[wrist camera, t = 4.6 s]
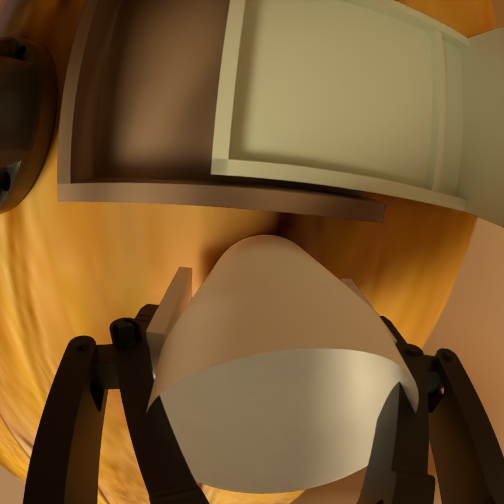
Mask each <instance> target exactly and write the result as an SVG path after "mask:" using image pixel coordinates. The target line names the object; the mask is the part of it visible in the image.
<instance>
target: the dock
mask: <svg viewBox="0 0 504 504" xmlns="http://www.w3.org/2000/svg"><path fill="white" fill-rule="evenodd" d="M229 5H230V0H86V2H85V4H84V7H83V10H82V13H81V17H80V20H79V23H78V26H77V30H76V34H75V37H74V41H73V45H72V49H71V54H70V58H69V63H68V68H67V73H66V78H65V84H64V91H63V98H62V106H61V114H60V125H59V138H58V164H57V183H58V201H87V202H132V203H158V204H179V205H197V206H212V207H227V208H240V209H253V210H265V211H276V212H287V213H297V214H307V215H316V216H325V217H334V218H343V219H351V220H359V221H367V222H375V223H383V217H384V211H385V206H386V205H384V204H381V203H379V202H377V201H374V200H372V199H369V198H367V197H364V194H365V191H361V190H355V189H348V188H341V187H334V186H327V185H320V184H312V183H304V182H296V181H287V180H277V179H267V178H256V177H244V176H230V175H214V174H211V164H212V151H213V139H214V127H215V116H216V106H217V96H218V87H219V78H220V70H221V62H222V54H223V46H224V39H225V31H226V25H227V18H228V11H229Z"/></svg>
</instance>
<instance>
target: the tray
mask: <svg viewBox="0 0 504 504" xmlns="http://www.w3.org/2000/svg"><path fill="white" fill-rule="evenodd" d="M211 174H214V175H230V176H244V177H256V178H267V179H277V180H287V181H296V182H304V183H312V184H320V185H327V186H334V187H341V188H348V189H355V190H361V191H367V192H373V193H379V194H384V195H390V196H395V197H400V198H405V199H410V200H415V201H420V202H425V203H429V204H434V205H438V206H443V207H447V208H451V209H455V210H459V211H463V212H466V213H469V214H472V215H474V216H477V217H479V218H482V219H484V220H487V221H489V222H492V223H494V224H497V225H499V226H501V227H504V27H500V28H497V29H494V30H491V31H488V32H485V33H482V34H479V35H476V36H473V37H470V38H467V37H465V36H464V35H462V34H461V33H459V32H457V31H456V30H454V29H452V28H450V27H449V26H447V25H445V24H443V23H441V22H440V21H438V20H436V19H434V18H432V17H430V16H428V15H426V14H424V13H422V12H420V11H418V10H415V9H413V8H411V7H409V6H406V5H404V4H402V3H399V2H397V1H394V0H230V5H229V11H228V18H227V25H226V31H225V39H224V46H223V54H222V62H221V70H220V78H219V87H218V96H217V106H216V116H215V127H214V139H213V151H212V164H211Z"/></svg>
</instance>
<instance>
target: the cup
mask: <svg viewBox="0 0 504 504" xmlns="http://www.w3.org/2000/svg"><path fill="white" fill-rule="evenodd" d="M399 381H400V383H401V385H402V387H403V389H404V391H405V393H406V395H407V397H408V399H409V401H410V404H411V406H412V408H413V410H414V412H415V414H416V411H417V407H418V399H419V395H418V388H417V385H416V382H415V380H414V379H413V377H412V375H411V373H410V371H409V369H408V367H407V366H406V364H405V362H404V360H403V358H402V357H401V355H400V353H399V351H398V349H397V347H396V346H395V344H394V342H393V340H392V338H391V336H390V334H389V332H388V330H387V328H386V327H385V325H384V323H383V322H382V320H381V319H380V317H379V316H378V315H377V314H376V313H375V311H374V310H373V309H372V308H371V307H370V306H369V305H368V304H367V303H366V302H365V301H364V300H362V299H361V298H360V297H359V296H358V295H357V294H355V293H354V292H353V291H352V290H351V289H350V288H349V287H347V286H346V285H345V284H344V283H343V282H341V281H340V280H339V279H338V278H337V277H336V276H334V275H333V274H332V273H331V272H330V271H328V270H327V269H326V268H325V267H324V266H322V265H321V264H320V263H319V262H317V261H316V260H315V259H314V258H313V257H311V256H310V255H309V254H308V253H306V252H305V251H304V250H303V249H302V248H300V247H299V246H298V245H297V244H295V243H294V242H292V241H290V240H288V239H285V238H283V237H279V236H274V235H256V236H251V237H248V238H245V239H243V240H241V241H239V242H237V243H235V244H234V245H232V246H231V247H230V248H229V249H227V250H226V251H225V252H224V254H223V255H222V256H221V258H220V259H219V260H218V262H217V263H216V265H215V266H214V268H213V269H212V271H211V272H210V273H209V275H208V276H207V278H206V279H205V281H204V282H203V284H202V285H201V286H200V288H199V289H198V291H197V292H196V294H195V295H194V297H193V298H192V300H191V301H190V303H189V304H188V306H187V307H186V309H185V310H184V312H183V313H182V315H181V316H180V318H179V319H178V321H177V322H176V324H175V325H174V327H173V328H172V330H171V332H170V333H169V335H168V337H167V339H166V341H165V343H164V345H163V348H162V350H161V353H160V357H159V361H158V365H157V370H156V375H155V379H154V384H153V388H152V392H151V396H150V400H149V404H148V408H147V411H148V409H149V407H150V405H151V404H152V403H153V401H154V400H155V399H156V398H157V397H158V396H159V395H160V398H161V400H162V403H163V406H164V409H165V411H166V414H167V417H168V419H169V422H170V425H171V427H172V430H173V432H174V435H175V437H176V440H177V442H178V444H179V447H180V449H181V451H182V454H183V456H184V458H185V460H186V462H187V465H188V467H189V469H190V471H191V473H192V475H193V477H194V479H195V481H196V482H199V483H202V484H205V485H208V486H211V487H215V488H219V489H224V490H229V491H235V492H244V493H283V492H292V491H298V490H304V489H308V488H312V487H316V486H320V485H324V484H327V483H330V482H333V481H336V480H338V479H341V478H343V477H346V476H348V475H350V474H352V473H354V472H356V471H358V470H360V469H362V468H364V467H366V466H367V465H368V463H369V459H370V454H371V449H372V445H373V439H374V434H375V429H376V423H377V419H378V417H379V414H380V412H381V410H382V407H383V405H384V403H385V401H386V399H387V397H388V395H389V393H390V392H391V390H392V389H393V387H394V386H395V385H396V384H397V383H398V382H399ZM146 413H147V412H146Z"/></svg>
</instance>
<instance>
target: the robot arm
mask: <svg viewBox="0 0 504 504" xmlns="http://www.w3.org/2000/svg"><path fill="white" fill-rule="evenodd" d="M56 105H57V79H56V72H55V67H54V64H53V61H52V58H51V56H50V55H49V53H48V51H47V50H46V49H45V48H44V47H43V46H41V45H40V44H38V43H36V42H33V41H30V40H28V39H25V38H22V37H14V36H13V37H4V38H0V214H2V213H5V212H7V211H9V210H11V209H13V208H14V207H15V206H17V205H18V204H19V203H20V202H21V201H22V200H23V198H24V197H25V196H26V195H27V193H28V192H29V190H30V189H31V187H32V185H33V184H34V182H35V180H36V178H37V176H38V174H39V172H40V169H41V167H42V165H43V162H44V159H45V156H46V153H47V150H48V147H49V143H50V140H51V136H52V131H53V126H54V121H55V114H56ZM340 281H341V282H343V283H344V284H345V285H346V286H347V287H349V288H350V289H351V290H352V291H353V292H354V293H355V294H357V295H358V296H359V297H360V298H361V299H362V300H364V301H365V302H366V303H367V304H368V305H369V306H370V307H371V308H372V309H373V310H374V308H373V307H372V306H371V304H370V303H369V302H368V300H367V299H366V298H365V296H364V295H363V294H362V292H361V291H360V290H359V288H358V287H357V286H356V284H355V283H354V282H353V280H352V279H346V278H340ZM191 300H192V268H186V267H179V269H178V271H177V273H176V274H175V276H174V278H173V280H172V282H171V284H170V286H169V287H168V289H167V291H166V293H165V295H164V297H163V299H162V301H161V303H160V305H153V304H147V305H145V306H144V307H142V308H141V309H140V311H139V312H138V314H137V316H136V317H135V319H133V318H120V319H117V320H115V321H113V322H112V323H111V324H110V328H109V329H110V334H111V338H112V343H113V344H108V345H96V342H95V340H94V339H93V338H92V337H90V336H78V337H75V338H73V339H72V340H71V341H70V342H69V343H68V345H67V348H66V350H65V353H64V355H63V357H62V360H61V362H60V365H59V368H58V370H57V373H56V375H55V378H54V381H53V384H52V386H51V389H50V392H49V395H48V398H47V401H46V404H45V407H44V410H43V413H42V417H41V420H40V424H39V427H38V431H37V434H36V438H35V442H34V446H33V450H32V454H31V459H30V464H29V469H28V474H27V479H26V485H25V492H24V499H23V504H97V495H98V472H99V458H100V447H101V438H102V429H103V421H104V414H105V407H106V401H107V395H108V389H120V393H121V398H122V403H123V407H124V412H125V416H126V421H127V425H128V429H129V433H130V437H131V440H132V444H133V448H134V451H135V455H136V458H137V461H138V464H139V468H140V471H141V474H142V477H143V480H144V482H145V485H146V488H147V491H148V494H149V500H150V503H151V504H209V502H208V500H207V498H206V497H205V495H204V493H203V491H202V490H201V488H200V487H199V486H198V485H197V483H196V481H195V479H194V477H193V475H192V473H191V471H190V469H189V467H188V465H187V462H186V460H185V458H184V456H183V454H182V451H181V449H180V447H179V444H178V442H177V440H176V437H175V435H174V432H173V430H172V427H171V425H170V422H169V419H168V417H167V414H166V411H165V409H164V406H163V403H162V400H161V398H160V395H159V396H158V397H157V398H156V399H155V400H154V401H153V403H152V404H151V405H150V407H149V409H148V411H147V408H148V404H149V400H150V396H151V392H152V388H153V384H154V379H155V375H156V370H157V365H158V361H159V357H160V353H161V350H162V348H163V345H164V343H165V341H166V339H167V337H168V335H169V333H170V332H171V330H172V328H173V327H174V325H175V324H176V322H177V321H178V319H179V318H180V316H181V315H182V313H183V312H184V310H185V309H186V307H187V306H188V304H189V303H190V301H191ZM374 311H375V310H374ZM375 313H376V314H377V312H376V311H375ZM377 315H378V314H377ZM378 316H379V315H378ZM379 317H380V319H381V320H382V322H383V323H384V325H385V327H386V328H387V330H388V332H389V334H390V336H391V338H392V340H393V342H394V344H395V346H396V347H397V349H398V351H399V353H400V355H401V357H402V358H403V360H404V362H405V364H406V366H407V367H408V369H409V371H410V373H411V375H412V377H413V379H414V380H415V382H416V385H417V388H418V395H419V399H418V407H417V411H416V414H415V412H414V410H413V408H412V406H411V404H410V401H409V399H408V397H407V395H406V393H405V391H404V389H403V387H402V385H401V383H400V381H399V382H398V383H397V384H396V385H395V386H394V387H393V389H392V390H391V392H390V393H389V395H388V397H387V399H386V401H385V403H384V405H383V407H382V410H381V412H380V414H379V417H378V419H377V423H376V429H375V434H374V439H373V445H372V449H371V454H370V459H369V463H368V467H367V472H366V475H365V479H364V483H363V487H362V490H361V494H360V497H359V500H358V502H357V504H433V502H434V492H435V478H434V476H432V475H428V473H427V469H428V449H429V441H430V444H431V449H432V453H433V458H434V462H435V467H436V472H437V477H438V482H439V488H440V495H441V501H442V504H504V457H503V454H502V451H501V449H500V446H499V443H498V441H497V438H496V436H495V433H494V430H493V428H492V426H491V423H490V421H489V419H488V416H487V414H486V412H485V410H484V407H483V406H482V403H481V401H480V399H479V397H478V395H477V393H476V391H475V389H474V387H473V385H472V383H471V381H470V379H469V377H468V375H467V374H466V371H465V369H464V368H463V366H462V364H461V362H460V360H459V358H458V357H457V355H456V354H455V353H454V352H452V351H451V350H449V349H444V348H443V349H439V350H438V351H437V353H436V355H435V356H429V355H424V353H423V351H422V350H421V349H420V348H419V347H417V346H415V345H412V344H407V343H406V341H405V340H404V339H403V337H402V336H401V334H400V333H399V332H398V330H397V329H396V328H395V327H394V325H393V324H392V322H391V321H390V320H388V319H387V318H386V317H384V316H379ZM443 387H444V393H443V394H442V392H441V389H442V388H443ZM146 412H147V413H146Z"/></svg>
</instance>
